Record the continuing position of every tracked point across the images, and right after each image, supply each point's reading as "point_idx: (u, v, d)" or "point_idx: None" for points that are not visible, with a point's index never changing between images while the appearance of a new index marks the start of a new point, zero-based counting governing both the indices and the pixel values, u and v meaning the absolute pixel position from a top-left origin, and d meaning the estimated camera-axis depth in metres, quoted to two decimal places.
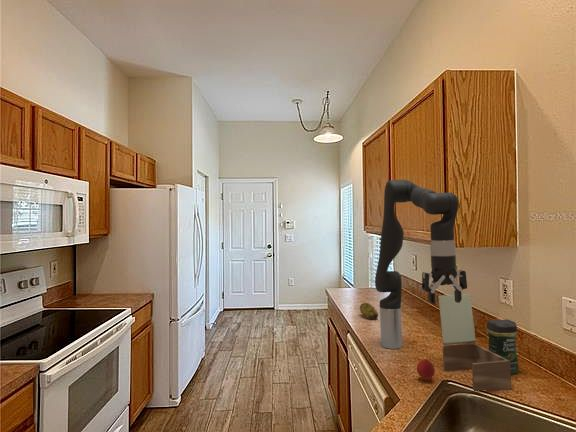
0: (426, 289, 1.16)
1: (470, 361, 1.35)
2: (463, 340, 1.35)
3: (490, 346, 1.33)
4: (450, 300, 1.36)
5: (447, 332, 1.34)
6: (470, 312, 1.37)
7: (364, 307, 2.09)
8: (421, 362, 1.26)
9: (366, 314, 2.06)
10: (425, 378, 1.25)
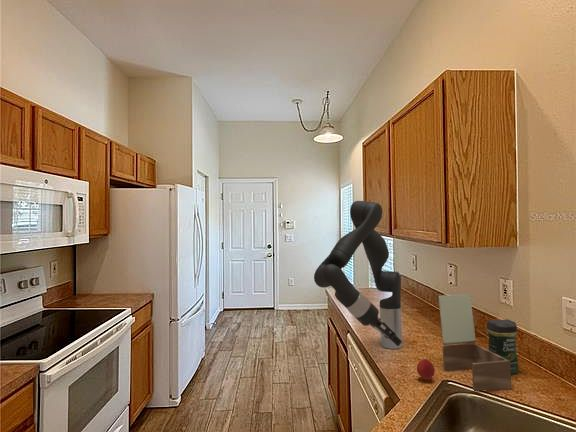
0: None
1: (470, 361, 1.35)
2: (463, 340, 1.35)
3: (490, 346, 1.33)
4: (450, 300, 1.36)
5: (447, 332, 1.34)
6: (470, 312, 1.37)
7: None
8: (421, 362, 1.26)
9: None
10: (425, 378, 1.25)
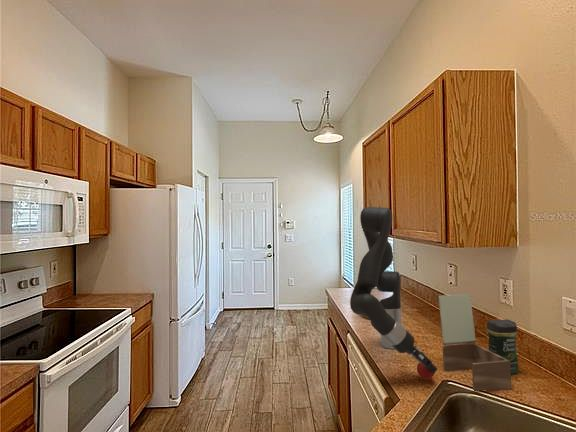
0: None
1: (470, 361, 1.35)
2: (463, 340, 1.35)
3: (490, 346, 1.33)
4: (450, 300, 1.36)
5: (447, 332, 1.34)
6: (470, 312, 1.37)
7: None
8: None
9: None
10: (425, 378, 1.25)
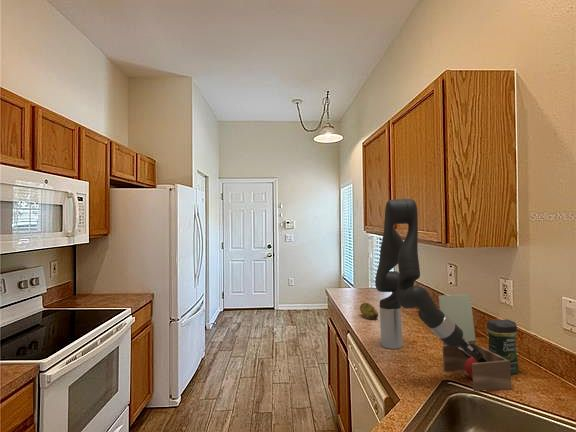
0: (453, 346, 1.32)
1: None
2: None
3: (490, 346, 1.33)
4: (450, 300, 1.36)
5: None
6: (470, 312, 1.37)
7: (364, 307, 2.09)
8: (470, 359, 1.26)
9: (366, 314, 2.06)
10: None
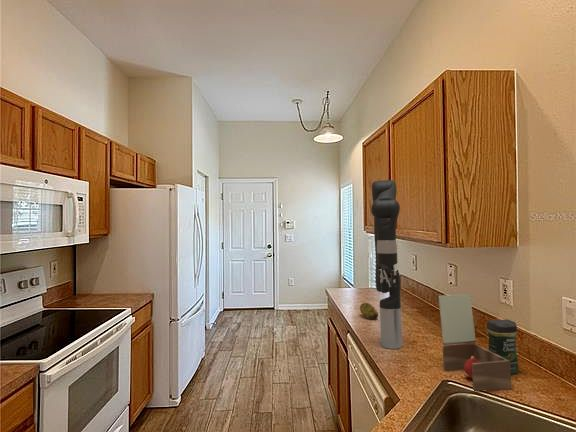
0: (378, 278, 1.45)
1: None
2: (463, 340, 1.35)
3: (490, 346, 1.33)
4: (450, 300, 1.36)
5: (447, 332, 1.34)
6: (470, 312, 1.37)
7: (364, 307, 2.09)
8: (469, 361, 1.26)
9: (366, 314, 2.06)
10: None
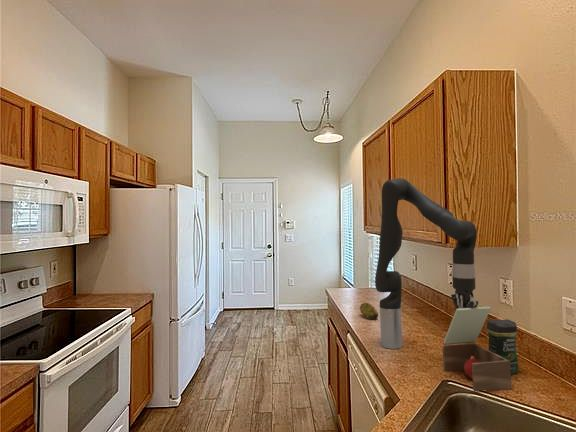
0: (456, 307, 1.34)
1: None
2: (464, 341, 1.34)
3: (490, 346, 1.33)
4: (467, 313, 1.26)
5: (451, 336, 1.32)
6: (482, 322, 1.30)
7: (364, 307, 2.09)
8: (469, 361, 1.26)
9: (366, 314, 2.06)
10: None
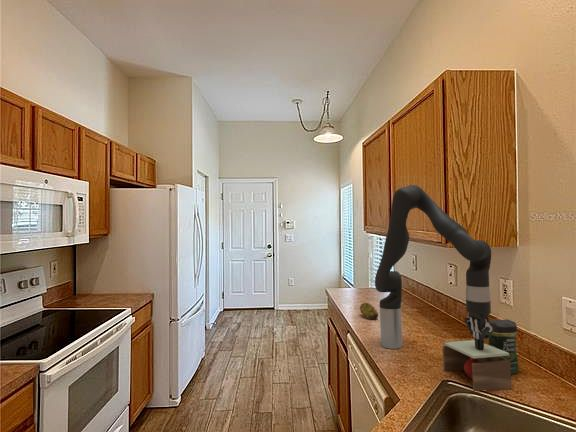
0: (470, 331, 1.26)
1: None
2: None
3: None
4: None
5: None
6: None
7: (364, 307, 2.09)
8: (469, 361, 1.26)
9: (366, 314, 2.06)
10: None
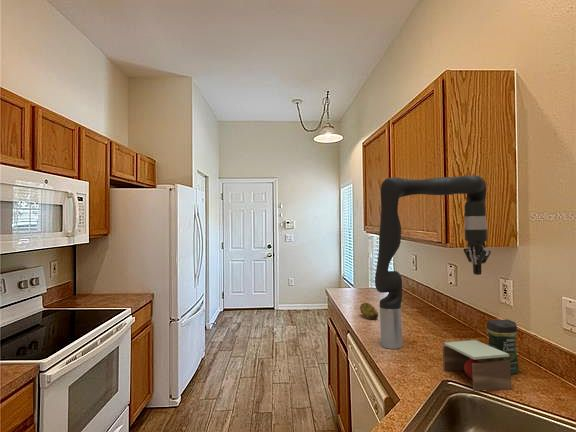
0: (469, 260, 1.39)
1: None
2: None
3: None
4: None
5: None
6: None
7: (364, 307, 2.09)
8: (469, 361, 1.26)
9: (366, 314, 2.06)
10: None
